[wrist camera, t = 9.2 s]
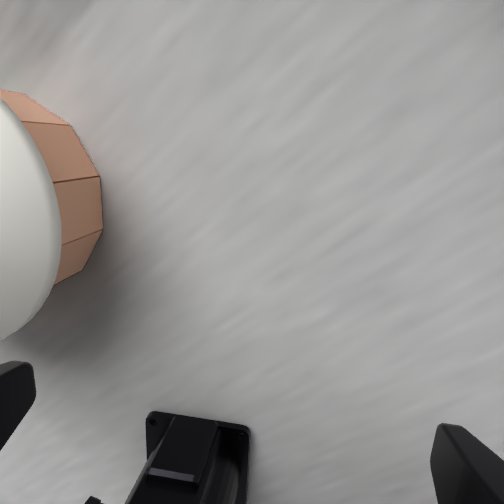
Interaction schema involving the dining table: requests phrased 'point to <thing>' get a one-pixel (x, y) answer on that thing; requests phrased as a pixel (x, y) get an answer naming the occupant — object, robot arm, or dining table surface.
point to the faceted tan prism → (65, 180)
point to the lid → (25, 226)
